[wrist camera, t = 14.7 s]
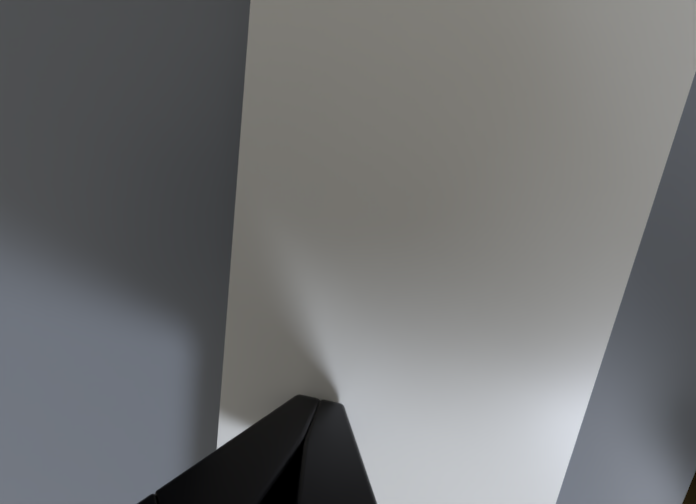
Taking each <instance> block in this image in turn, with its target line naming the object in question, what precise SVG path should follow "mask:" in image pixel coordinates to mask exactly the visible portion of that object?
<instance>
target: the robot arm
mask: <svg viewBox="0 0 696 504" xmlns="http://www.w3.org/2000/svg"><path fill="white" fill-rule="evenodd" d="M137 504H377V501H376V498H375V495H374V492H373V489H372V487H371V484H370V481H369V478H368V475H367V472H366V469H365V466H364V463H363V460H362V457H361V454H360V451H359V448H358V445H357V442H356V439H355V436H354V434H353V431H352V428H351V425H350V422H349V419H348V416H347V413H346V410H345V407H344V405H343V404H341V403H337V402H333V401H328V400H319V399H318V398H314V397H310V396H305V395H301V394H298V395H296V396H294V397H293V398H291V399H290V400H288V401H287V402H285V403H284V404H282V405H281V406H279V407H278V408H276V409H275V410H274V411H272V412H271V413H269V414H268V415H266V416H265V417H263V418H262V419H260V420H259V421H257V422H256V423H255V424H253V425H252V426H250V427H249V428H247V429H246V430H244V431H243V432H241V433H240V434H238V435H237V436H235V437H234V438H233V439H231V440H230V441H228V442H227V443H225V444H224V445H222V446H221V447H219V448H218V449H216V450H215V451H214V452H212V453H211V454H209V455H208V456H206V457H205V458H203V459H202V460H200V461H199V462H197V463H196V464H194V465H193V466H192V467H190V468H189V469H187V470H186V471H184V472H183V473H181V474H180V475H178V476H177V477H175V478H174V479H173V480H171V481H170V482H168V483H167V484H165V485H164V486H162V487H161V488H159V489H158V490H156V492H155V494H150V495H149V496H147V497H146V498H144V499H143V500H141V501H140V502H138V503H137Z"/></svg>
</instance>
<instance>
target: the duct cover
mask: <svg viewBox="0 0 696 504" xmlns="http://www.w3.org/2000/svg"><path fill="white" fill-rule="evenodd" d="M695 72H696V0H251V1H250V14H249V28H248V41H247V54H246V67H245V81H244V94H243V107H242V120H241V133H240V147H239V160H238V173H237V186H236V200H235V213H234V226H233V239H232V252H231V266H230V279H229V292H228V305H227V319H226V332H225V345H224V358H223V372H222V385H221V398H220V411H219V424H218V438H217V449H218V448H219V447H221V446H222V445H224V444H225V443H227V442H228V441H230V440H231V439H233V438H234V437H235V436H237V435H238V434H240V433H241V432H243V431H244V430H246V429H247V428H249V427H250V426H252V425H253V424H255V423H256V422H257V421H259V420H260V419H262V418H263V417H265V416H266V415H268V414H269V413H271V412H272V411H274V410H275V409H276V408H278V407H279V406H281V405H282V404H284V403H285V402H287V401H288V400H290V399H291V398H293V397H294V396H296V395H298V394H301V395H305V396H310V397H314V398H318V399H319V400H328V401H333V402H337V403H341V404H343V405H344V407H345V410H346V413H347V416H348V419H349V422H350V425H351V428H352V431H353V434H354V436H355V439H356V442H357V445H358V448H359V451H360V454H361V457H362V460H363V463H364V466H365V469H366V472H367V475H368V478H369V481H370V484H371V487H372V489H373V492H374V495H375V498H376V501H377V504H556V501H557V498H558V495H559V492H560V489H561V486H562V483H563V480H564V477H565V473H566V470H567V467H568V464H569V461H570V458H571V455H572V452H573V449H574V446H575V443H576V440H577V436H578V433H579V430H580V427H581V424H582V421H583V418H584V415H585V412H586V409H587V406H588V402H589V399H590V396H591V393H592V390H593V387H594V384H595V381H596V378H597V375H598V372H599V369H600V365H601V362H602V359H603V356H604V353H605V350H606V347H607V344H608V341H609V338H610V335H611V331H612V328H613V325H614V322H615V319H616V316H617V313H618V310H619V307H620V304H621V301H622V298H623V294H624V291H625V288H626V285H627V282H628V279H629V276H630V273H631V270H632V267H633V264H634V260H635V257H636V254H637V251H638V248H639V245H640V242H641V239H642V236H643V233H644V230H645V227H646V223H647V220H648V217H649V214H650V211H651V208H652V205H653V202H654V199H655V196H656V193H657V190H658V186H659V183H660V180H661V177H662V174H663V171H664V168H665V165H666V162H667V159H668V156H669V152H670V149H671V146H672V143H673V140H674V137H675V134H676V131H677V128H678V125H679V122H680V119H681V115H682V112H683V109H684V106H685V103H686V100H687V97H688V94H689V91H690V88H691V85H692V81H693V78H694V75H695Z"/></svg>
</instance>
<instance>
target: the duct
mask: <svg viewBox="0 0 696 504" xmlns="http://www.w3.org/2000/svg"><path fill="white" fill-rule="evenodd" d="M250 1H251V0H0V504H137V503H138V502H140V501H141V500H143V499H144V498H146V497H147V496H149V495H150V494H155V492H156V490H158V489H159V488H161V487H162V486H164V485H165V484H167V483H168V482H170V481H171V480H173V479H174V478H175V477H177V476H178V475H180V474H181V473H183V472H184V471H186V470H187V469H189V468H190V467H192V466H193V465H194V464H196V463H197V462H199V461H200V460H202V459H203V458H205V457H206V456H208V455H209V454H211V453H212V452H214V451H215V450H216V449H217V438H218V424H219V411H220V398H221V385H222V372H223V358H224V345H225V332H226V319H227V305H228V292H229V279H230V266H231V252H232V239H233V226H234V213H235V200H236V186H237V173H238V160H239V147H240V133H241V120H242V107H243V94H244V81H245V67H246V54H247V41H248V28H249V14H250ZM695 471H696V72H695V75H694V78H693V81H692V85H691V88H690V91H689V94H688V97H687V100H686V103H685V106H684V109H683V112H682V115H681V119H680V122H679V125H678V128H677V131H676V134H675V137H674V140H673V143H672V146H671V149H670V152H669V156H668V159H667V162H666V165H665V168H664V171H663V174H662V177H661V180H660V183H659V186H658V190H657V193H656V196H655V199H654V202H653V205H652V208H651V211H650V214H649V217H648V220H647V223H646V227H645V230H644V233H643V236H642V239H641V242H640V245H639V248H638V251H637V254H636V257H635V260H634V264H633V267H632V270H631V273H630V276H629V279H628V282H627V285H626V288H625V291H624V294H623V298H622V301H621V304H620V307H619V310H618V313H617V316H616V319H615V322H614V325H613V328H612V331H611V335H610V338H609V341H608V344H607V347H606V350H605V353H604V356H603V359H602V362H601V365H600V369H599V372H598V375H597V378H596V381H595V384H594V387H593V390H592V393H591V396H590V399H589V402H588V406H587V409H586V412H585V415H584V418H583V421H582V424H581V427H580V430H579V433H578V436H577V440H576V443H575V446H574V449H573V452H572V455H571V458H570V461H569V464H568V467H567V470H566V473H565V477H564V480H563V483H562V486H561V489H560V492H559V495H558V498H557V501H556V504H682V503H683V500H684V498H685V495H686V493H687V491H688V488H689V486H690V483H691V481H692V479H693V476H694V474H695Z"/></svg>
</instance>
